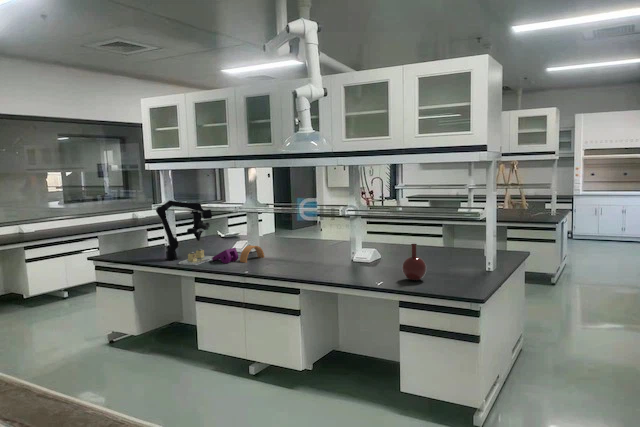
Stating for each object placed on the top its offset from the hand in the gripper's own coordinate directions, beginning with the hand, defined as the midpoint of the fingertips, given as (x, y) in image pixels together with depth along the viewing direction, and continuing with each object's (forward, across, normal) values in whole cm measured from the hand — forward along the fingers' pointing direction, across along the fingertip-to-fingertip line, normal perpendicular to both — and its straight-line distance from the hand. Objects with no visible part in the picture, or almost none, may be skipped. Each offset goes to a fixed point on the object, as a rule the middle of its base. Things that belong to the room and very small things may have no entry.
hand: (198, 240), depth 347 cm
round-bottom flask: (+12, -35, -163) cm, 167 cm away
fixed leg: (+11, -21, -9) cm, 25 cm away
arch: (+12, -2, -45) cm, 47 cm away
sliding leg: (+10, -12, -9) cm, 18 cm away
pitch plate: (+12, -15, -9) cm, 21 cm away
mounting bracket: (+12, -11, -28) cm, 32 cm away
